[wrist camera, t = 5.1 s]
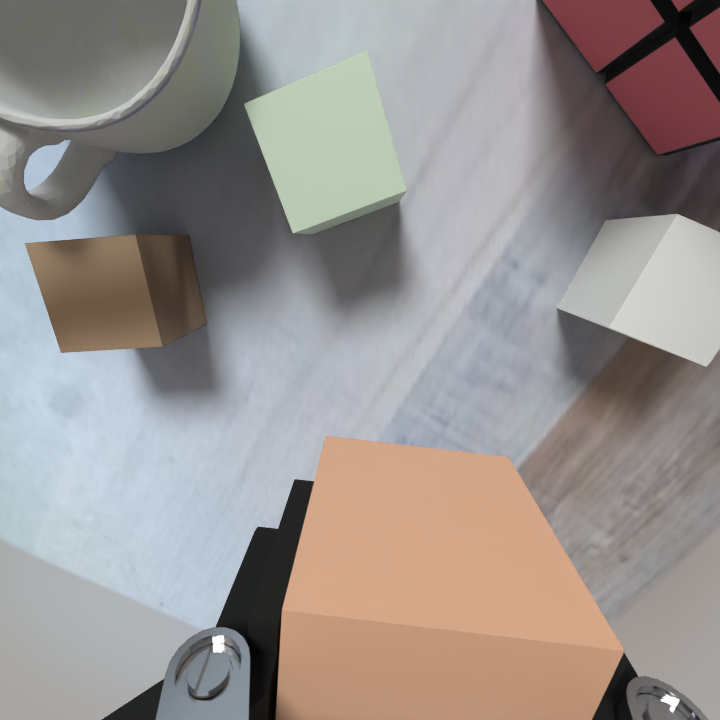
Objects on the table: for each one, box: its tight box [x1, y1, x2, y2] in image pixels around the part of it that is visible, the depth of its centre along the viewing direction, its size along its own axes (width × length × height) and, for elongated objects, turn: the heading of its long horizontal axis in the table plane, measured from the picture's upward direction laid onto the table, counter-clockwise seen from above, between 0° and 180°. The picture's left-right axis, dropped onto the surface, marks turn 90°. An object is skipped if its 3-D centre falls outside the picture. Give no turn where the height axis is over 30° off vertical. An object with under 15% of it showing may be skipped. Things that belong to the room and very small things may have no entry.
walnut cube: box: [25, 235, 207, 353], centre depth 19 cm, size 5×5×5 cm
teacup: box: [0, 0, 240, 220], centre depth 15 cm, size 14×11×8 cm
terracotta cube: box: [276, 436, 624, 720], centre depth 9 cm, size 5×5×5 cm
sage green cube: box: [244, 50, 407, 235], centre depth 17 cm, size 5×5×5 cm
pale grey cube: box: [557, 214, 720, 367], centre depth 18 cm, size 5×5×5 cm
